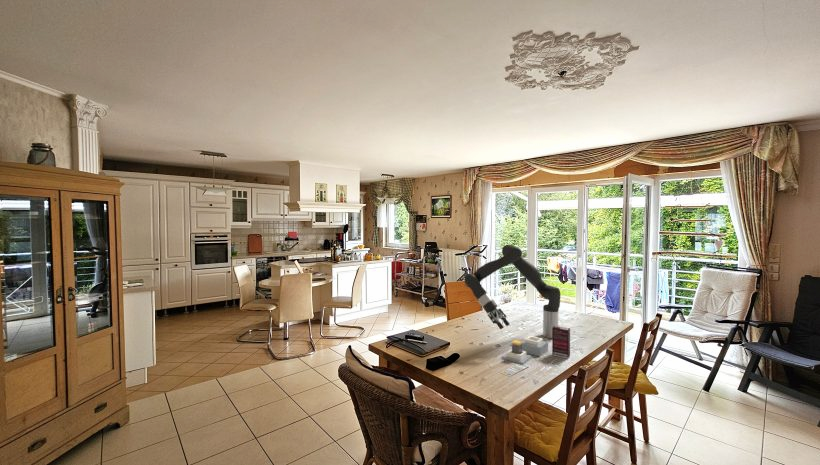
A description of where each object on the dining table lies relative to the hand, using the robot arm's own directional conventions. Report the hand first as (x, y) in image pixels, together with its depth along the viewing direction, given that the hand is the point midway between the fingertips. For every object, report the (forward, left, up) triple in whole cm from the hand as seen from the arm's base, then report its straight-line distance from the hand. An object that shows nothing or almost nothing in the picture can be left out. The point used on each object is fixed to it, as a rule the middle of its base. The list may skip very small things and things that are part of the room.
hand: (505, 326), depth 186 cm
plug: (+6, +5, -15) cm, 16 cm away
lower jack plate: (+6, +5, -16) cm, 17 cm away
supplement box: (+4, +31, -16) cm, 35 cm away
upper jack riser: (-4, +19, -16) cm, 25 cm away
